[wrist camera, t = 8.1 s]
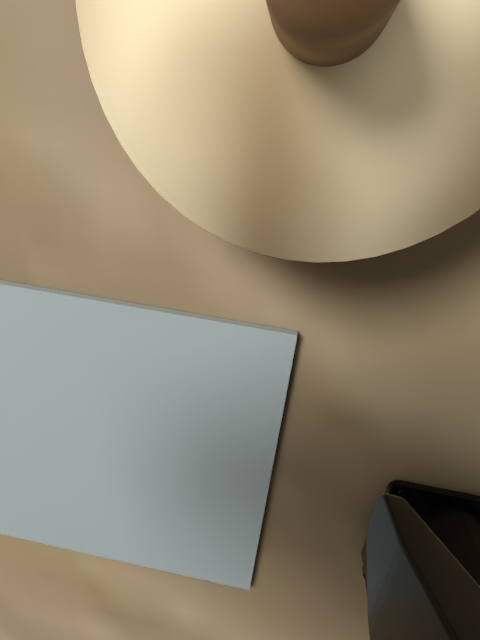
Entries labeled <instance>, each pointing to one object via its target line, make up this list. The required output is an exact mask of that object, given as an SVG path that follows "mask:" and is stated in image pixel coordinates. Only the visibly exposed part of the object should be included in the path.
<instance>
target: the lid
mask: <svg viewBox="0 0 480 640" xmlns="http://www.w3.org/2000/svg"><path fill="white" fill-rule="evenodd" d="M76 10H77V16H78V23H79V29H80V35H81V41H82V47H83V51H84V54H85V58H86V62H87V65H88V69H89V73H90V76H91V80H92V83H93V86H94V88H95V91H96V93H97V96H98V98H99V101H100V103H101V106H102V108H103V111H104V114H105V116H106V117H107V119H108V121H109V123H110V125H111V127H112V129H113V131H114V133H115V135H116V136H117V138H118V140H119V142H120V144H121V145H122V147H123V148H124V150H125V151H126V153H127V154H128V156H129V157H130V159H131V160H132V161H133V163H134V164H135V166H136V167H137V169H138V170H139V171H140V172H141V174H142V175H143V176H144V177H145V178H146V179H147V180H148V182H149V183H150V184H151V185H152V186H153V187H154V189H155V190H156V191H157V192H158V193H159V194H160V195H161V196H162V197H163V198H165V199H166V200H167V201H168V202H169V203H170V204H171V205H172V206H173V207H175V208H176V209H177V210H178V211H179V212H180V213H181V214H183V215H184V216H186V217H187V218H188V219H190V220H191V221H193V222H194V223H196V224H197V225H199V226H200V227H201V228H203V229H204V230H206V231H208V232H210V233H212V234H214V235H216V236H217V237H219V238H221V239H223V240H225V241H227V242H229V243H231V244H234V245H236V246H239V247H242V248H245V249H247V250H250V251H253V252H256V253H258V254H263V255H267V256H272V257H276V258H281V259H285V260H294V261H305V262H315V263H316V262H345V261H352V260H358V259H364V258H370V257H376V256H380V255H383V254H387V253H390V252H394V251H397V250H401V249H404V248H407V247H410V246H412V245H414V244H417V243H419V242H422V241H424V240H426V239H429V238H431V237H433V236H436V235H438V234H440V233H442V232H443V231H445V230H447V229H449V228H450V227H452V226H454V225H456V224H458V223H459V222H461V221H463V220H465V219H466V218H468V217H470V216H471V215H472V214H474V213H475V212H476V211H478V210H479V209H480V0H76Z"/></svg>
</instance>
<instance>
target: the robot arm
mask: <svg viewBox="0 0 480 640" xmlns="http://www.w3.org/2000/svg"><path fill="white" fill-rule="evenodd" d="M397 490H402V491H401V492H399V493H396V492H395V491H397ZM362 561H363V567H362V570H363V576H364V578H365V583H366V590H367V598H368V624H369V634H370V640H480V496H476V495H471V494H466V493H461V492H456V491H451V490H446V489H441V488H436V487H431V486H426V485H421V484H416V483H411V482H406V481H401V480H395V481H392V482H391V483H389V485H388V486H387V490H386V493H382V494H380V496H379V497H378V499H377V502H376V505H375V508H374V510H373V513H372V516H371V519H370V522H369V525H368V529H367V536H366V540H365V543H364V546H363V549H362Z"/></svg>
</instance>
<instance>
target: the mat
mask: <svg viewBox="0 0 480 640" xmlns="http://www.w3.org/2000/svg"><path fill="white" fill-rule="evenodd" d="M297 335H298V331H293V330H287V329H282V328H276V327H270V326H264V325H258V324H252V323H247V322H241V321H235V320H229V319H223V318H218V317H212V316H206V315H200V314H194V313H189V312H183V311H177V310H171V309H165V308H159V307H154V306H148V305H142V304H136V303H130V302H125V301H119V300H113V299H107V298H101V297H95V296H90V295H84V294H78V293H72V292H66V291H61V290H55V289H49V288H43V287H37V286H31V285H26V284H20V283H14V282H8V281H2V280H0V534H4V535H8V536H13V537H17V538H21V539H26V540H30V541H34V542H39V543H43V544H48V545H52V546H56V547H61V548H65V549H70V550H74V551H78V552H83V553H87V554H92V555H96V556H100V557H105V558H109V559H113V560H118V561H122V562H127V563H131V564H135V565H140V566H144V567H149V568H153V569H157V570H162V571H166V572H171V573H175V574H179V575H184V576H188V577H192V578H197V579H201V580H206V581H210V582H214V583H219V584H223V585H228V586H232V587H236V588H241V589H245V590H249V589H250V584H251V579H252V573H253V568H254V563H255V557H256V552H257V547H258V542H259V536H260V531H261V526H262V520H263V515H264V510H265V505H266V499H267V494H268V489H269V483H270V478H271V473H272V468H273V462H274V457H275V452H276V446H277V441H278V436H279V430H280V425H281V420H282V415H283V409H284V404H285V399H286V393H287V388H288V383H289V378H290V372H291V367H292V362H293V356H294V351H295V346H296V341H297Z"/></svg>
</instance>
